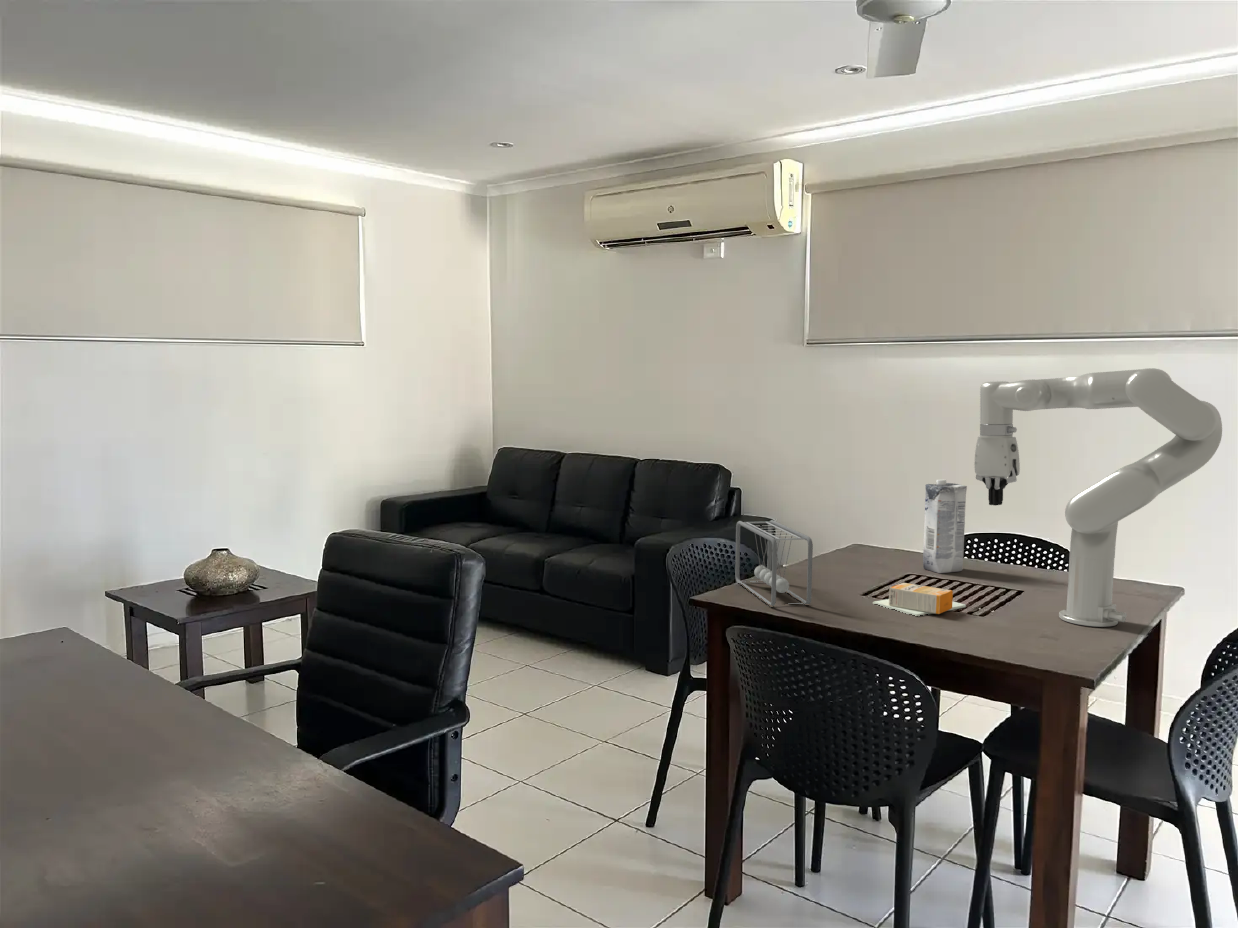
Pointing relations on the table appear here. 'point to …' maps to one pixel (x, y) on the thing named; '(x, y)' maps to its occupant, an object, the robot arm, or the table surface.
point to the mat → (910, 611)
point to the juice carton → (944, 527)
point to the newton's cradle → (774, 560)
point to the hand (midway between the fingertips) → (995, 504)
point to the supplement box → (920, 598)
